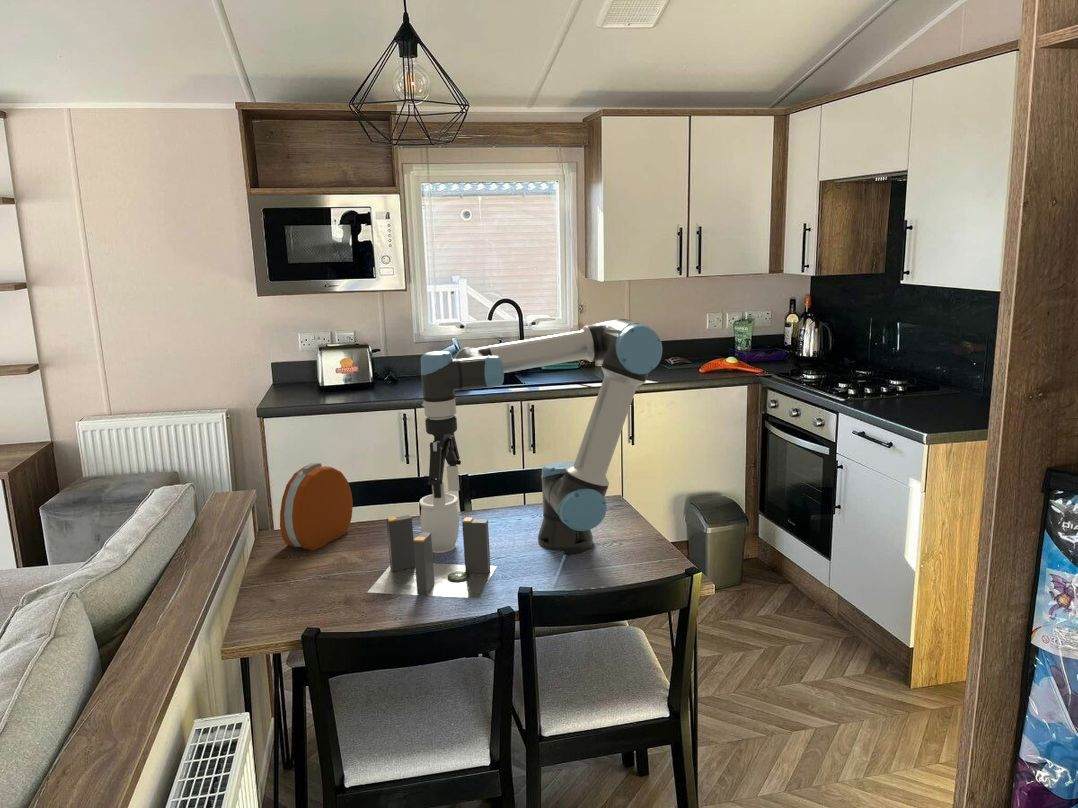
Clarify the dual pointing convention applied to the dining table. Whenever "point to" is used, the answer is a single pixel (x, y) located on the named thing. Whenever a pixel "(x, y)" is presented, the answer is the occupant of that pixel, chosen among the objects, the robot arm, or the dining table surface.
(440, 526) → the jar
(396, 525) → the grey tall block
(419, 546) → the grey standing slab
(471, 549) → the grey tall block piece
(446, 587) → the plate
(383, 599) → the dining table surface
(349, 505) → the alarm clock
